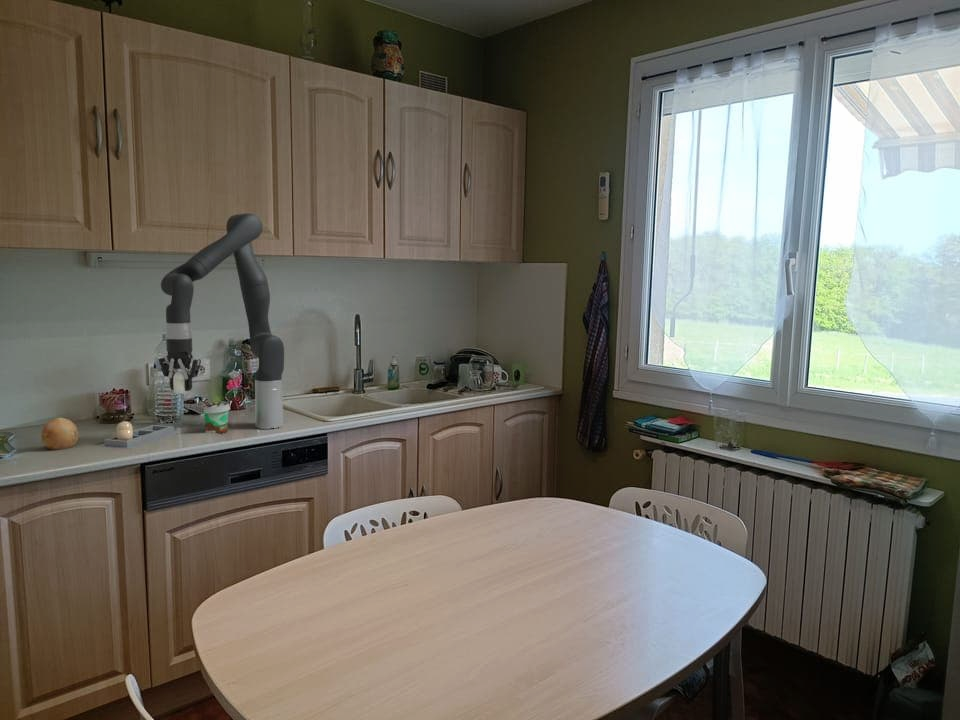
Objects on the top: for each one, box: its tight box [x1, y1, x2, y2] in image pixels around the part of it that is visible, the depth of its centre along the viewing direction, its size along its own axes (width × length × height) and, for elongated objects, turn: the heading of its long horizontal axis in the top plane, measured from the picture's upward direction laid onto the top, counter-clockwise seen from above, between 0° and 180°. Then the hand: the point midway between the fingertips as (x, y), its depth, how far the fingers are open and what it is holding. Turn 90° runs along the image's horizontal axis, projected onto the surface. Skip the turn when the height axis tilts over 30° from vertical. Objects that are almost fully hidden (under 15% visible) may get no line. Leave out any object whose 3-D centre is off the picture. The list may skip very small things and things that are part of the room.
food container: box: [203, 400, 231, 435], centre depth 229 cm, size 12×6×10 cm, turn 179°
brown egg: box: [116, 420, 134, 441], centre depth 208 cm, size 4×4×7 cm
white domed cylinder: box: [173, 370, 190, 395], centre depth 213 cm, size 4×4×7 cm
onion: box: [40, 417, 79, 451], centre depth 202 cm, size 10×10×10 cm
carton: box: [97, 424, 182, 450], centre depth 215 cm, size 24×12×3 cm, turn 168°
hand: (181, 389), depth 214 cm, fingers closed on white domed cylinder, 4 cm apart
